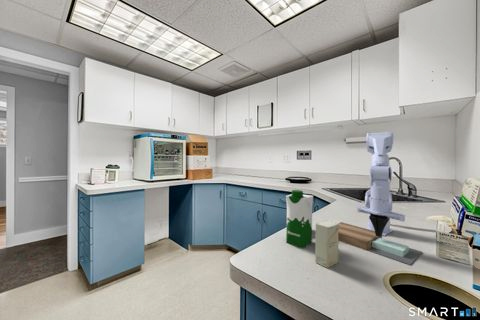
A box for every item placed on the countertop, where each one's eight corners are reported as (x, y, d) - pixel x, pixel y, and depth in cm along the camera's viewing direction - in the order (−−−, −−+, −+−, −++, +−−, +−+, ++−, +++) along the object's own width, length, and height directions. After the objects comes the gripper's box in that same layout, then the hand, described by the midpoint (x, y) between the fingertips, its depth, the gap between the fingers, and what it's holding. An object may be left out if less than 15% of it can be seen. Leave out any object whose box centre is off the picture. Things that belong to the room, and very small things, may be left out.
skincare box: (327, 268, 59) (328, 227, 59) (314, 262, 63) (314, 223, 63) (338, 262, 63) (339, 223, 63) (325, 256, 67) (326, 219, 66)
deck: (341, 228, 92) (341, 222, 92) (381, 240, 79) (382, 233, 79) (324, 235, 84) (324, 228, 84) (366, 250, 71) (366, 241, 71)
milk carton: (282, 242, 77) (283, 190, 76) (294, 236, 83) (295, 187, 83) (304, 250, 71) (305, 193, 70) (315, 242, 77) (316, 190, 77)
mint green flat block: (378, 242, 77) (378, 237, 77) (408, 252, 69) (408, 246, 69) (372, 246, 73) (372, 241, 73) (402, 257, 66) (403, 251, 66)
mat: (384, 241, 79) (384, 240, 79) (422, 252, 70) (422, 251, 70) (369, 251, 70) (369, 250, 70) (410, 265, 61) (410, 264, 61)
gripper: (353, 196, 77) (353, 231, 78) (400, 204, 66) (399, 245, 66) (361, 194, 82) (361, 228, 82) (407, 201, 70) (406, 240, 70)
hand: (378, 235), depth 74 cm, fingers closed
